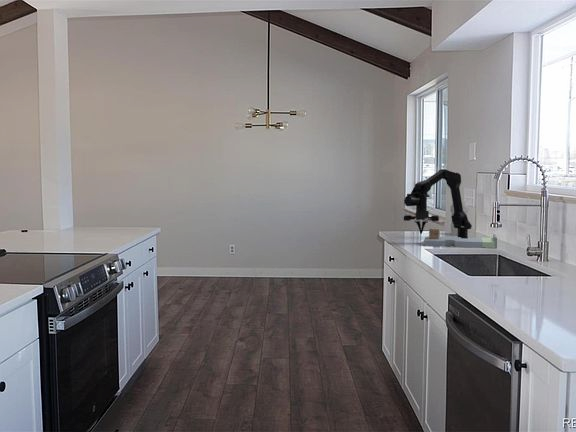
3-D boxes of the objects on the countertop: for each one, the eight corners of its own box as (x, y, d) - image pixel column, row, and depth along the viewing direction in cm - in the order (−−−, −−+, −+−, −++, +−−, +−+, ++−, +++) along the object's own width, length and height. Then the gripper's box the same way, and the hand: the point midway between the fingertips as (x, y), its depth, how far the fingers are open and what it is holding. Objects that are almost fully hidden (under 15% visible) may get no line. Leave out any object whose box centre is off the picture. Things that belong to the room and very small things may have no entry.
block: (429, 237, 303) (429, 229, 302) (438, 238, 301) (439, 229, 301) (429, 239, 298) (429, 229, 298) (438, 239, 297) (438, 230, 296)
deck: (425, 241, 310) (425, 232, 310) (494, 243, 299) (495, 233, 298) (423, 245, 293) (423, 236, 292) (496, 248, 282) (497, 237, 281)
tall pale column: (450, 235, 335) (450, 200, 333) (450, 234, 339) (450, 199, 337) (468, 236, 333) (468, 200, 331) (467, 235, 337) (468, 199, 335)
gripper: (402, 206, 296) (402, 234, 297) (438, 206, 290) (437, 235, 291) (404, 205, 306) (404, 232, 307) (439, 205, 300) (438, 233, 302)
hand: (421, 233), depth 302 cm, fingers closed
